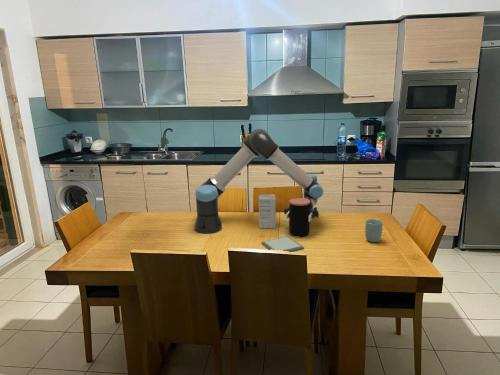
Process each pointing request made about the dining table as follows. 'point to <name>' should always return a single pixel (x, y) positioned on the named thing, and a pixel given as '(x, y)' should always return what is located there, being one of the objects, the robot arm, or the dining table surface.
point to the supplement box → (267, 211)
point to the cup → (373, 230)
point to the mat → (282, 244)
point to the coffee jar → (299, 217)
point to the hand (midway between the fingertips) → (297, 218)
